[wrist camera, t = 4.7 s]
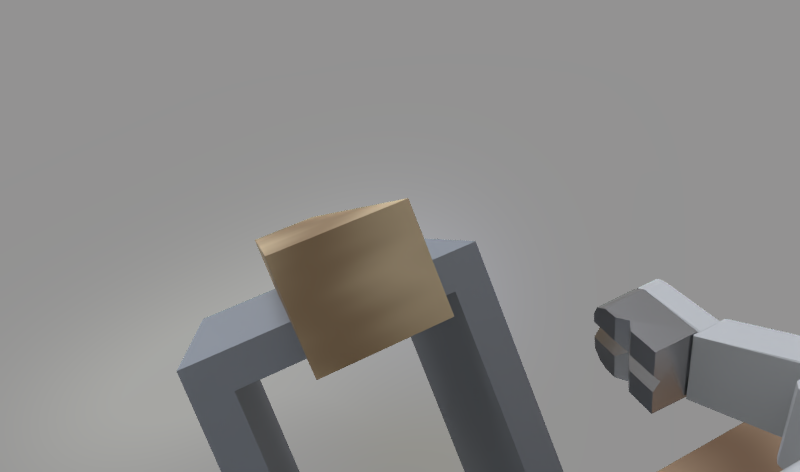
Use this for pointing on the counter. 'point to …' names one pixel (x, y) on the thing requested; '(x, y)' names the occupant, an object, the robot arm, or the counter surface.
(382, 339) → the oak slat
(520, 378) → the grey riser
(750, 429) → the walnut block
